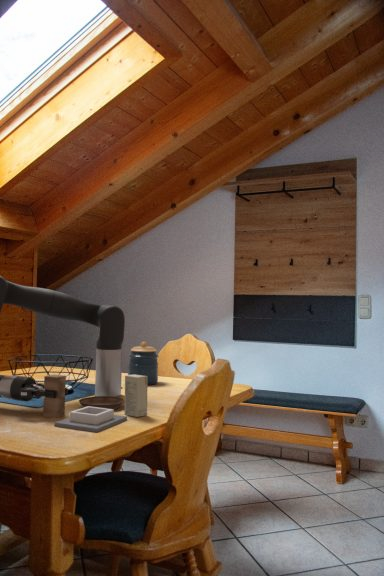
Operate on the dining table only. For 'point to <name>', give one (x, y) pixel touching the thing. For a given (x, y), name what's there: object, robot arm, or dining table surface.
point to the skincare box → (136, 395)
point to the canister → (144, 362)
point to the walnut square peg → (55, 405)
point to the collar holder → (91, 419)
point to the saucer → (102, 402)
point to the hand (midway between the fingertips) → (62, 393)
